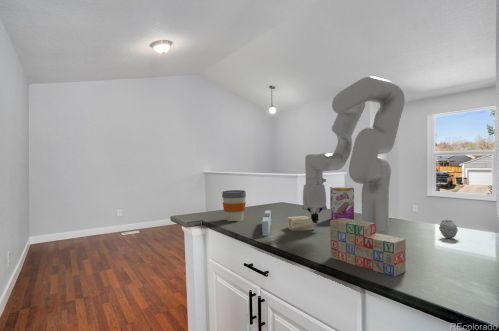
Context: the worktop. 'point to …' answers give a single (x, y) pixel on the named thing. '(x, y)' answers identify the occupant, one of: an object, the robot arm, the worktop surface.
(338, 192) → the candy bar box
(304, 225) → the maple block
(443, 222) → the rough grey ball
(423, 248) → the worktop surface
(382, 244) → the stack of blocks
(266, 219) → the grey-blue board
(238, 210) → the reusable coffee cup
